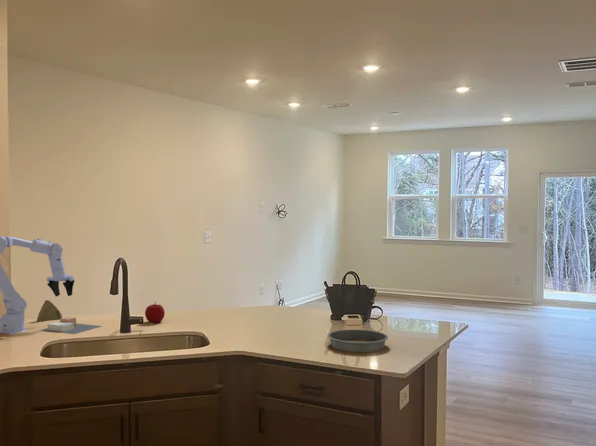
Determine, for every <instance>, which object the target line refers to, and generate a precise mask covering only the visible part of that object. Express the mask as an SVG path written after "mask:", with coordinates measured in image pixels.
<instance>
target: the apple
mask: <svg viewBox="0 0 596 446" xmlns="http://www.w3.org/2000/svg"><path fill="white" fill-rule="evenodd" d="M144 315H145V318H146V320H147V321H148V322H149V323H153V324H154V323H160V322H162V321H163V320H164V317H165V309H164V307H163V306H162V305H161V304H156V301H155V302H154V303H153V304H150V305H148V306H147V307H146V308H145V311H144Z"/></svg>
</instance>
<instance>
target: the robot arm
mask: <svg viewBox="0 0 596 446" xmlns="http://www.w3.org/2000/svg"><path fill="white" fill-rule="evenodd" d="M12 246H16V247H22V248H29V250H30V251H31V252H33V253H37V254H38V253H39V254H44V255H47V256H48V260H49V261H48V262H49V265H50V266H49V267H50V270H51V274H52V276H48V277H46V279H45V280H46V282H47V284H46V285H47V286H48V287H49V289H51V291H52V292H53V295H54V296H55V297H59V296H60V295H61V292H60V282H62V285H63V286H64V288H65V291H66V294H67V297H70V296H73V288H74V284H75V277H74V276H73V275H68V274H66V269H65V265H64V260H63V256H62V253H63V250H64V249H63V247H62V245H60V244H59V243H55V242H52V241H51V240H48V241H45V240H42V238H35V239H32V240H31V241H30V240H28V239H23V238H19V237H14V236H8V235H7V236H2V235H0V255H2V253H3V252H4V251H5V250H6V249H7V248H10V247H12ZM0 292H1V294H2V300H3V305H4V308H5V309H6V311H5V314H3V315H1V317H0V334H5V335H6V334H7V335H14V334H18V333H23V332H26V331H28V329H25V310H26V308H27V303H28V302H27V300H25V298H22V297H21V295H20V294H19V293H18V292H17V290H16V289H15V287H14V286H13V284H12V282H11V279H9V277H8V275H7V274H6V271H5V270H4V268H3V266H2V264H1V263H0Z"/></svg>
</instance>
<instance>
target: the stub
mask: <svg viewBox="0 0 596 446" xmlns="http://www.w3.org/2000/svg"><path fill="white" fill-rule="evenodd" d="M59 322H68V323H73V327H75V326H76V324H77V317H74V316H73V317H72V316H65V317H62V318H61V319H60V320H59Z"/></svg>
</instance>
